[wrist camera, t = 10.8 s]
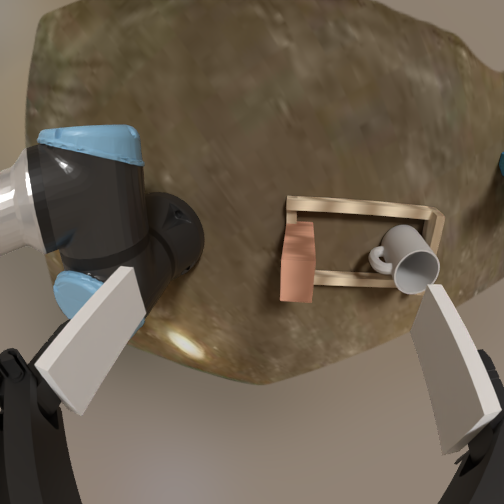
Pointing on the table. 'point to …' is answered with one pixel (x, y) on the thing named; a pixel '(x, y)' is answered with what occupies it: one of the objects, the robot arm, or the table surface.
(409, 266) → the cup
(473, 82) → the table surface
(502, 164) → the cup
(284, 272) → the frame
